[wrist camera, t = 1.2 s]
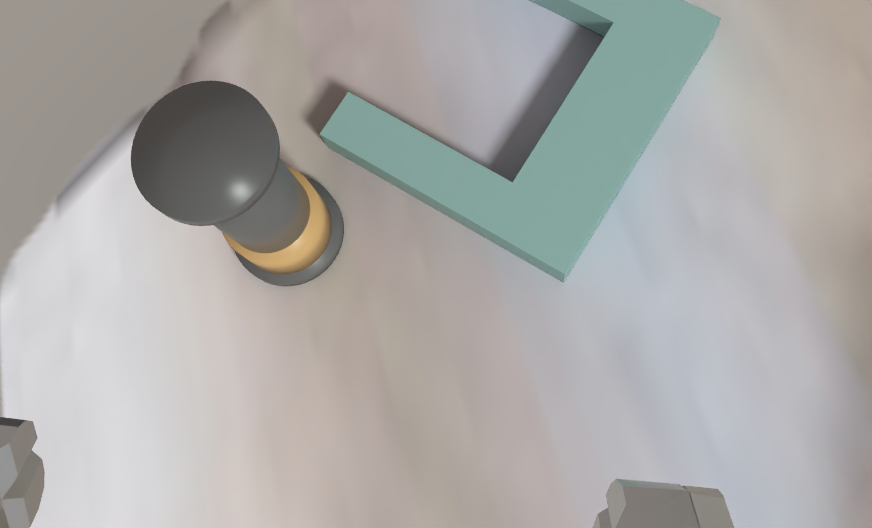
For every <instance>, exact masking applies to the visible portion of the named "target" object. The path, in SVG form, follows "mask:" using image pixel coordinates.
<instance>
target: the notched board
mask: <svg viewBox="0 0 872 528" xmlns="http://www.w3.org/2000/svg"><path fill="white" fill-rule="evenodd" d="M530 1H533V2H535V3H537V4H539V5H541V6H543V7H545V8H547V9H549V10H551V11H553V12H555V13H557V14H559V15H561V16H563V17H565V18H567V19H569V20H571V21H573V22H575V23H577V24H579V25H581V26H583V27H586V28H588V29H590V30H592V31H594V32H596V33H598V34H600V35H602V36H604V39H603V40H602V42H601V43H600V45H599V47H598V48H597V50H596V51H595V53H594V54H593V56H592V58H591V59H590V61H589V62H588V64H587V65H586V67H585V69H584V70H583V72H582V73H581V75H580V77H579V78H578V80H577V81H576V83H575V84H574V86H573V88H572V89H571V91H570V92H569V94H568V96H567V97H566V99H565V100H564V102H563V103H562V105H561V107H560V108H559V110H558V111H557V113H556V114H555V116H554V118H553V119H552V121H551V122H550V124H549V126H548V127H547V129H546V130H545V132H544V133H543V135H542V137H541V138H540V140H539V141H538V143H537V145H536V146H535V148H534V149H533V151H532V152H531V154H530V156H529V157H528V159H527V160H526V162H525V163H524V165H523V167H522V168H521V170H520V171H519V173H518V175H517V176H516V178H515V179H514V181H513V182H511V181H509V180H507V179H506V178H504V177H502V176H500V175H498V174H497V173H495V172H493V171H491V170H489V169H487V168H486V167H484V166H482V165H480V164H478V163H477V162H475V161H473V160H471V159H469V158H468V157H466V156H464V155H462V154H460V153H458V152H457V151H455V150H453V149H451V148H449V147H448V146H446V145H444V144H442V143H440V142H438V141H437V140H435V139H433V138H431V137H429V136H428V135H426V134H424V133H422V132H420V131H419V130H417V129H415V128H413V127H411V126H409V125H408V124H406V123H404V122H402V121H400V120H399V119H397V118H395V117H393V116H391V115H390V114H388V113H386V112H384V111H382V110H380V109H379V108H377V107H375V106H373V105H371V104H370V103H368V102H366V101H364V100H362V99H361V98H359V97H357V96H355V95H353V94H351V93H350V92H348V93H347V94H346V96H345V97H344V99H343V100H342V102H341V103H340V105H339V106H338V108H337V109H336V111H335V112H334V114H333V115H332V117H331V118H330V119H329V121H328V122H327V124H326V125H325V127H324V128H323V130H322V131H321V133H320V136H321V137H322V139H323V140H324V142H325V143H326V145H327V146H328V147H329V148H330V149H332V150H334V151H336V152H337V153H339V154H341V155H342V156H344V157H346V158H348V159H349V160H351V161H353V162H355V163H356V164H358V165H360V166H362V167H363V168H365V169H367V170H369V171H370V172H372V173H374V174H376V175H377V176H379V177H381V178H383V179H384V180H386V181H388V182H389V183H391V184H393V185H395V186H396V187H398V188H400V189H402V190H403V191H405V192H407V193H409V194H410V195H412V196H414V197H416V198H417V199H419V200H421V201H423V202H424V203H426V204H428V205H430V206H431V207H433V208H435V209H437V210H438V211H440V212H442V213H443V214H445V215H447V216H449V217H450V218H452V219H454V220H456V221H457V222H459V223H461V224H463V225H464V226H466V227H468V228H470V229H471V230H473V231H475V232H477V233H478V234H480V235H482V236H484V237H485V238H487V239H489V240H490V241H492V242H494V243H496V244H497V245H499V246H501V247H503V248H504V249H506V250H508V251H510V252H511V253H513V254H515V255H517V256H518V257H520V258H522V259H524V260H525V261H527V262H529V263H531V264H532V265H534V266H536V267H537V268H539V269H541V270H543V271H544V272H546V273H548V274H550V275H551V276H553V277H555V278H557V279H558V280H560V281H562V282H564V281H565V279H566V277H567V276H568V274H569V272H570V271H571V269H572V268H573V266H574V264H575V263H576V261H577V259H578V258H579V256H580V254H581V253H582V251H583V250H584V248H585V246H586V245H587V243H588V241H589V240H590V238H591V236H592V235H593V233H594V231H595V230H596V228H597V227H598V225H599V223H600V222H601V220H602V218H603V217H604V215H605V213H606V212H607V210H608V208H609V207H610V205H611V204H612V202H613V200H614V199H615V197H616V195H617V194H618V192H619V190H620V189H621V187H622V186H623V184H624V182H625V181H626V179H627V177H628V176H629V174H630V172H631V171H632V169H633V167H634V166H635V164H636V163H637V161H638V159H639V158H640V156H641V154H642V153H643V151H644V149H645V148H646V146H647V145H648V143H649V141H650V140H651V138H652V136H653V135H654V133H655V131H656V130H657V128H658V126H659V125H660V123H661V122H662V120H663V118H664V117H665V115H666V113H667V112H668V110H669V108H670V107H671V105H672V103H673V102H674V100H675V99H676V97H677V95H678V94H679V92H680V90H681V89H682V87H683V85H684V84H685V82H686V81H687V79H688V77H689V76H690V74H691V72H692V71H693V69H694V67H695V66H696V64H697V62H698V61H699V59H700V58H701V56H702V54H703V53H704V51H705V49H706V48H707V46H708V44H709V43H710V41H711V40H712V38H713V36H714V34H715V31H716V29H717V26H718V24H719V21H720V19H721V18H720V17H718V16H715V15H713V14H711V13H709V12H707V11H705V10H703V9H700V8H698V7H696V6H694V5H692V4H690V3H688V2H686V1H683V0H530Z"/></svg>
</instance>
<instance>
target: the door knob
mask: <svg viewBox="0 0 872 528" xmlns="http://www.w3.org/2000/svg"><path fill="white" fill-rule="evenodd" d="M279 155H280V145H279V137H278V133H277V129H276V127H275V124H274V122H273V120H272V119H271V117H270V115H269V114H268V112H267V111H266V110H265V108H264V107H263V106H262V105H261V104H260V102H259V101H258V100H257V99H256V98H255V97H254V96H253V95H252V94H250V93H249V92H247V91H246V90H244V89H242V88H240V87H238V86H236V85H233V84H230V83H226V82H220V81H201V82H196V83H191V84H188V85H185V86H182V87H180V88H178V89H176V90H174V91H172V92H170V93H169V94H167V95H166V96H164V97H163V98H162V99H161V100H159V101H158V102H157V103H156V104H155V105H154V106H153V107H152V108H151V109H150V110H149V112H148V113H147V114H146V115H145V117H144V118H143V120H142V122H141V123H140V125H139V127H138V129H137V132H136V134H135V137H134V140H133V145H132V151H131V168H132V172H133V177H134V180H135V182H136V185H137V187H138V189H139V191H140V192H141V194H142V195H143V196H144V198H145V199H146V200H147V201H148V202H149V203H150V204H151V205H152V206H153V207H155V208H156V209H157V210H159V211H160V212H162V213H163V214H165V215H166V216H168V217H169V218H171V219H173V220H175V221H178V222H181V223H184V224H189V225H196V226H207V225H214V226H216V227H217V228H218V229H220V230H221V231H222V232H223V235H224V237H225V239H226V241H227V242H228V243H229V245H230V246H231V247H232V248H233V249H234V250H235V252H236V255H237V257H238V258H239V260H240V262H241V263H242V264H243V266H244V267H245V268H246V269H247V270H248V271H249V272H251V273H252V274H253V275H255V276H256V277H258V278H259V279H261V280H263V281H265V282H267V283H270V284H273V285H278V286H294V285H300V284H303V283H306V282H308V281H311V280H313V279H314V278H316V277H318V276H319V275H321V274H322V273H323V272H324V271H325V270H326V269H327V268H328V267H329V266H330V265H331V264H332V262H333V261H334V260H335V258H336V256H337V255H338V253H339V250H340V248H341V245H342V241H343V235H344V223H343V217H342V214H341V211H340V209H339V206H338V205H337V203H336V201H335V200H334V199H333V197H332V196H331V195H330V194H329V192H328V191H327V190H326V189H325V188H324V187H322V186H321V185H320V184H318V183H316V182H314V181H312V180H310V179H307V178H305V177H304V176H303V175H302V174H301V173H299V172H298V171H296V170H294V169H292V168H290V167H287V166H285V164H284V163H283V162H282V161H281V160H280V158H279Z"/></svg>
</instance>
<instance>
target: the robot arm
mask: <svg viewBox="0 0 872 528" xmlns="http://www.w3.org/2000/svg"><path fill="white" fill-rule="evenodd" d="M36 440H37V435H36V431H35V427H34V424H33V422H32V421H27V420H20V419H12V418H4V417H0V528H29V527H30V526H31V524H32V522H33V520H34V518H35V515H36V513H37V511H38V509H39V505H40V501H41V497H42V493H43V489H44V467H43V462H42V459H41V458H40V457H39V456H38V455H36V454H35V453H34V452H33V451H32V450H31V449H32V447H33V446H34V444H35V442H36ZM606 498H607V504H608V508H607V509H605V510H603V511H602V512H600V513H598V515H597V517H596V520H595V523H594V525H593V528H734V526H733V523H732V520H731V517H730V514H729V511H728V508H727V505H726V502H725V499H724V496H723V495H722V493H721V492H720V491H719V490H718V489H712V488H702V487H693V486H681V485H680V484H668V483H657V482H646V481H634V480H623V479H615V480H614V481H613V482H612V483H611V484H610V486H609V489H608V491H607V493H606Z"/></svg>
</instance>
